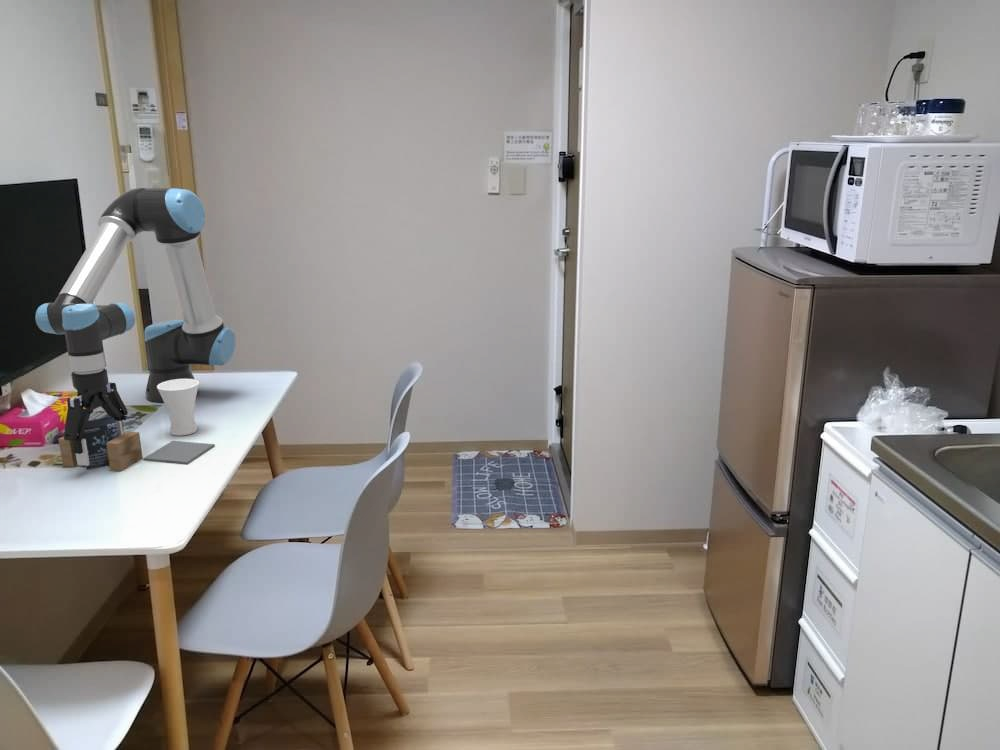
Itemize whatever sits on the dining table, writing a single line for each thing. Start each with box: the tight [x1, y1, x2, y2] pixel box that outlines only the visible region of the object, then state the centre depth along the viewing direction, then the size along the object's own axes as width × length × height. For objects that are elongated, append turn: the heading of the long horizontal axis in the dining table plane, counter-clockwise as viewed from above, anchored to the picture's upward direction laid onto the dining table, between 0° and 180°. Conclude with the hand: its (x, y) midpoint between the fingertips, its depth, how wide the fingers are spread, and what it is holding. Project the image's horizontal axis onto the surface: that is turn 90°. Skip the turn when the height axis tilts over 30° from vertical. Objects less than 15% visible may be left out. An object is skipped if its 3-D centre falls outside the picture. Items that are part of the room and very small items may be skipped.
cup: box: [157, 378, 200, 436], centre depth 206 cm, size 10×10×14 cm
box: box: [83, 416, 118, 470], centre depth 186 cm, size 8×6×11 cm
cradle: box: [57, 430, 144, 472], centre depth 187 cm, size 8×16×7 cm, turn 79°
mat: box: [142, 440, 215, 465], centre depth 193 cm, size 12×12×1 cm
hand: (102, 454), depth 187 cm, fingers open, 12 cm apart
